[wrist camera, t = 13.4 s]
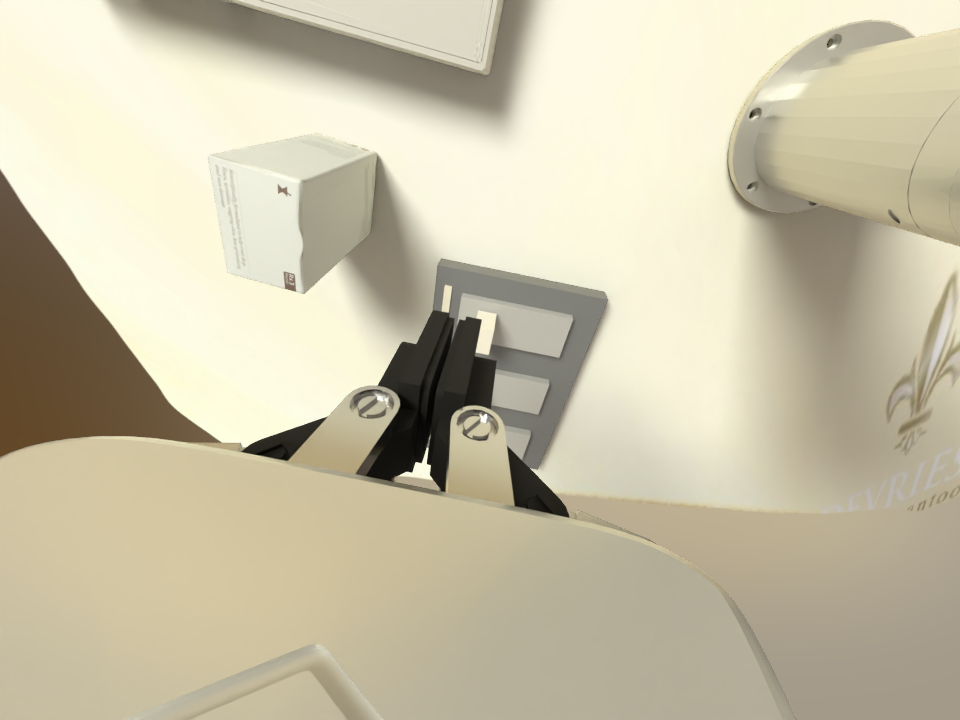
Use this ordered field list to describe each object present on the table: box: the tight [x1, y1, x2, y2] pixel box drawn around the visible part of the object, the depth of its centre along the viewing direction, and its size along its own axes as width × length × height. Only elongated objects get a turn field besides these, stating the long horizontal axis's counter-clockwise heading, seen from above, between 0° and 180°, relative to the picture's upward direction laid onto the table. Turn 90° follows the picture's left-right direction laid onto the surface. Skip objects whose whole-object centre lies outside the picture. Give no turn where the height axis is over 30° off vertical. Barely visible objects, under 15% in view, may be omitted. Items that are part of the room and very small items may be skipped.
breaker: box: [476, 310, 497, 355], centre depth 37 cm, size 2×3×4 cm, turn 170°
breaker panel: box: [427, 259, 608, 469], centre depth 45 cm, size 18×28×3 cm, turn 170°
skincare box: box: [208, 133, 377, 294], centre depth 29 cm, size 8×6×15 cm
